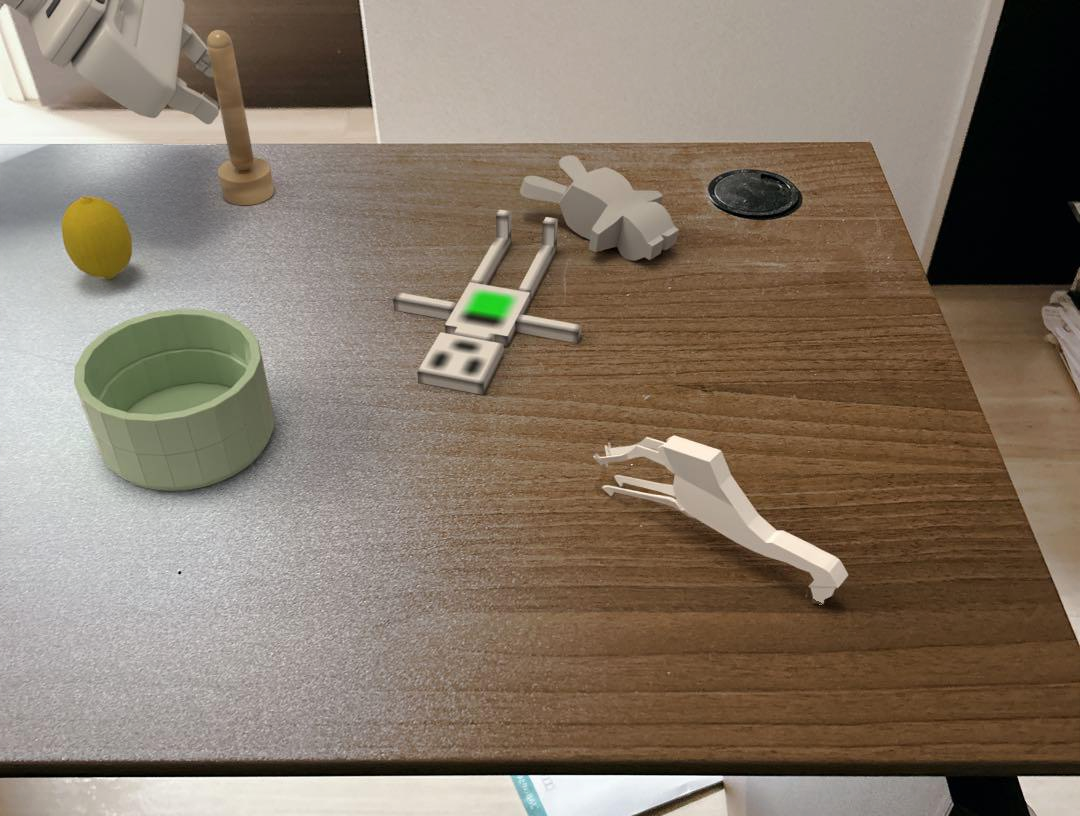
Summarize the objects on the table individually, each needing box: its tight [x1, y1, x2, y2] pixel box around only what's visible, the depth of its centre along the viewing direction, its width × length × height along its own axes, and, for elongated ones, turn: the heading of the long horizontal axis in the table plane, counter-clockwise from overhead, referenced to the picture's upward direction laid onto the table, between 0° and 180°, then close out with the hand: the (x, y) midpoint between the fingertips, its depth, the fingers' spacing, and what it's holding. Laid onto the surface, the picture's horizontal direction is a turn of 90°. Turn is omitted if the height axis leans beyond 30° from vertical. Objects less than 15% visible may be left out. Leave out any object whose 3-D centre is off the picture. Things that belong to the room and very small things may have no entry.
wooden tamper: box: [206, 29, 275, 206], centre depth 106 cm, size 5×5×16 cm
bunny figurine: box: [518, 154, 680, 262], centre depth 105 cm, size 10×5×15 cm
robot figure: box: [392, 209, 583, 396], centre depth 97 cm, size 16×3×22 cm
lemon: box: [61, 195, 133, 281], centre depth 98 cm, size 6×6×8 cm
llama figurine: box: [592, 435, 849, 605], centre depth 77 cm, size 2×11×18 cm
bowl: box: [73, 308, 275, 492], centre depth 84 cm, size 13×13×7 cm
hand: (216, 91), depth 104 cm, fingers open, 8 cm apart
